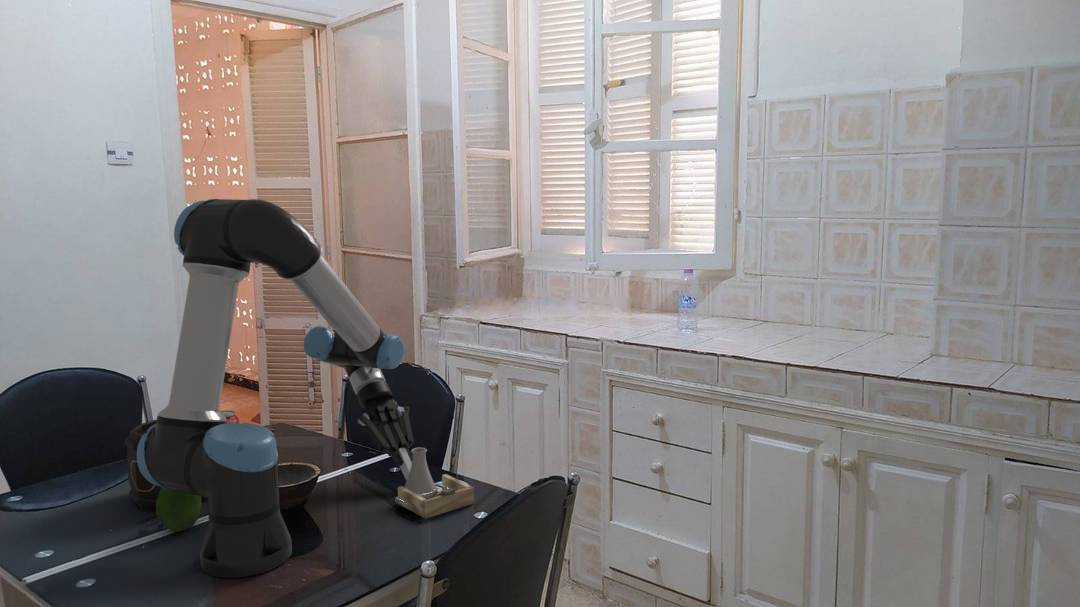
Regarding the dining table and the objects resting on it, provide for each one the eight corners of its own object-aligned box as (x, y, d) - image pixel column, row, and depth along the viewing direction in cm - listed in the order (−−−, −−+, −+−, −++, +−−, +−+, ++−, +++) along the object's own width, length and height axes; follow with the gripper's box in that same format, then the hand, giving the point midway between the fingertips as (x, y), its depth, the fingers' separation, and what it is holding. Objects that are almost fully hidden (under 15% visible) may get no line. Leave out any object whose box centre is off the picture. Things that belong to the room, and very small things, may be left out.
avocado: (208, 520, 150) (204, 462, 149) (195, 537, 143) (191, 476, 141) (166, 522, 149) (162, 463, 148) (150, 539, 142) (146, 478, 140)
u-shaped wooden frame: (474, 503, 158) (474, 483, 158) (425, 519, 151) (424, 498, 150) (446, 489, 166) (445, 470, 166) (398, 503, 159) (397, 483, 158)
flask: (419, 485, 169) (418, 442, 167) (443, 492, 164) (442, 448, 163) (395, 495, 163) (394, 451, 161) (420, 503, 159) (419, 457, 157)
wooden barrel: (211, 510, 155) (206, 436, 153) (117, 516, 152) (111, 440, 150) (232, 479, 173) (228, 412, 171) (149, 483, 170) (144, 416, 168)
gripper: (350, 383, 169) (390, 475, 159) (401, 375, 178) (442, 461, 168) (340, 402, 174) (379, 492, 164) (390, 392, 183) (429, 477, 172)
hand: (411, 476), depth 166 cm, fingers closed
